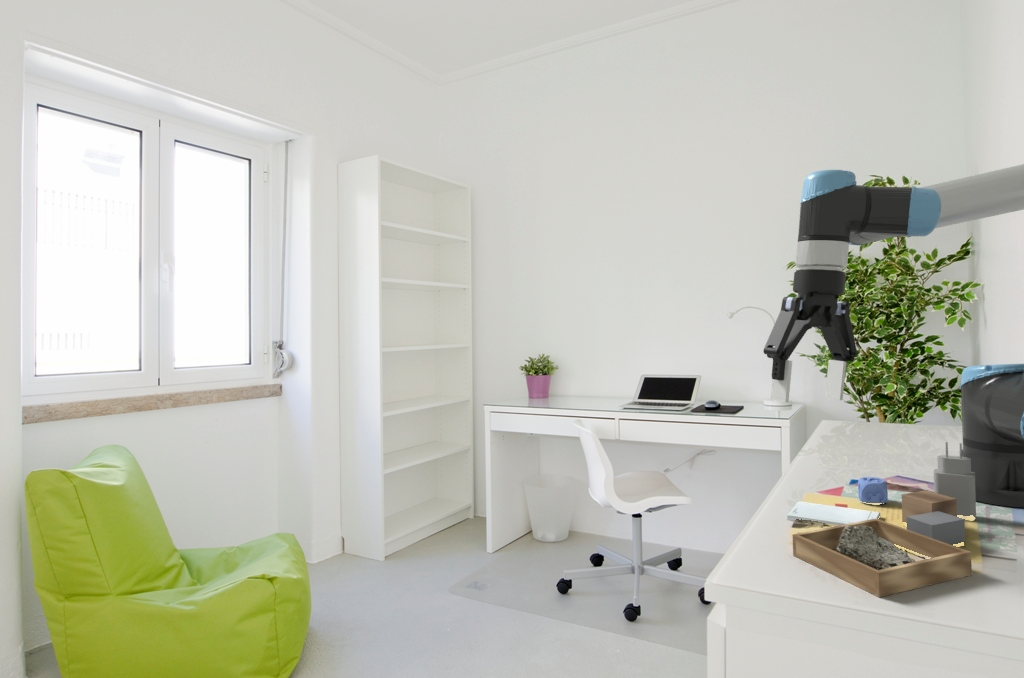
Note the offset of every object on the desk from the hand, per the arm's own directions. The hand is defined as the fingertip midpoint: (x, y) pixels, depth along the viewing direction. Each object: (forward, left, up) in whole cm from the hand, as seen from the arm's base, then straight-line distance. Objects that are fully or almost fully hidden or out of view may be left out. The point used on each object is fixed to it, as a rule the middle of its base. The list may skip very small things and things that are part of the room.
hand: (807, 400), depth 102 cm
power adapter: (-20, +9, -20) cm, 30 cm away
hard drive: (-3, +1, -20) cm, 21 cm away
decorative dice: (-15, -2, -20) cm, 25 cm away
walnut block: (-12, +11, -20) cm, 26 cm away
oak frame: (+6, +18, -20) cm, 27 cm away
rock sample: (+6, +19, -20) cm, 28 cm away
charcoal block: (-7, +16, -20) cm, 26 cm away
